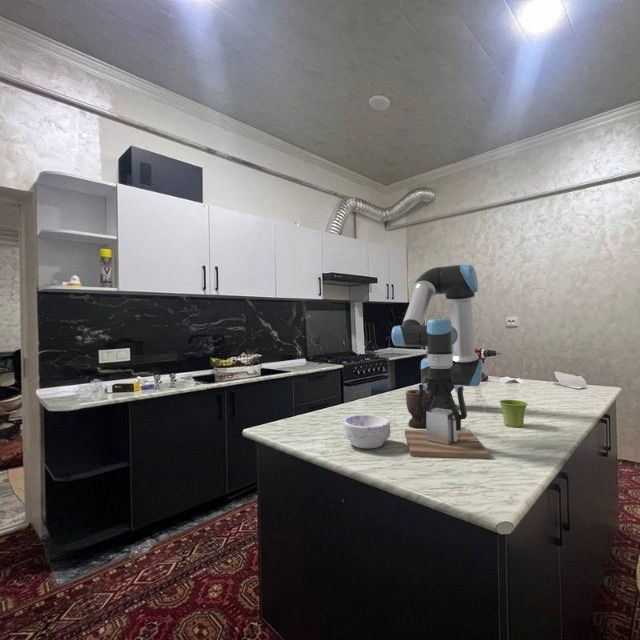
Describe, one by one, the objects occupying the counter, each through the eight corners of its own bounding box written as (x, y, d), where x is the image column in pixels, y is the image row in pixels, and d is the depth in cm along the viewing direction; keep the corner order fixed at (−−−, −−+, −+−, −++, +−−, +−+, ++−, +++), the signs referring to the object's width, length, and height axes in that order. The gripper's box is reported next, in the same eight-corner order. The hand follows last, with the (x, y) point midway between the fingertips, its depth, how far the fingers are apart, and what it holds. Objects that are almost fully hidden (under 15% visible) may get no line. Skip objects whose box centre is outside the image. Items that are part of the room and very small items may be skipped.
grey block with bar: (448, 444, 113) (447, 414, 113) (427, 439, 118) (426, 411, 118) (462, 435, 121) (461, 408, 121) (442, 432, 126) (441, 405, 126)
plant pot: (526, 423, 140) (526, 400, 140) (529, 430, 132) (528, 405, 132) (499, 421, 144) (498, 399, 144) (500, 427, 136) (499, 403, 136)
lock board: (404, 434, 130) (404, 429, 130) (470, 435, 127) (469, 430, 127) (410, 456, 109) (410, 450, 109) (489, 458, 105) (489, 452, 105)
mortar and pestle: (441, 427, 138) (440, 373, 138) (428, 432, 132) (426, 376, 132) (415, 421, 146) (414, 371, 147) (402, 426, 141) (400, 373, 141)
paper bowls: (379, 455, 110) (378, 428, 110) (335, 447, 118) (334, 422, 118) (397, 441, 123) (396, 417, 123) (356, 434, 131) (355, 412, 131)
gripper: (405, 367, 120) (407, 437, 120) (472, 369, 110) (474, 446, 109) (412, 364, 127) (414, 431, 126) (476, 367, 116) (478, 439, 116)
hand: (442, 438), depth 118 cm, fingers closed on grey block with bar, 8 cm apart
